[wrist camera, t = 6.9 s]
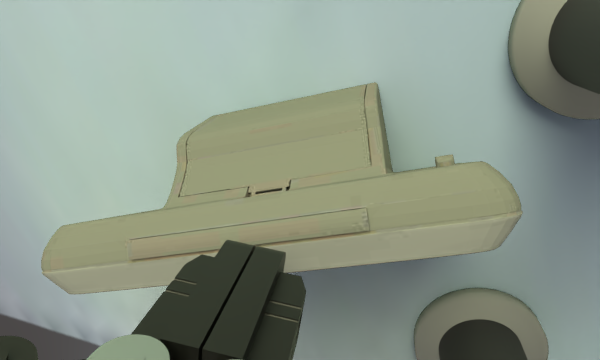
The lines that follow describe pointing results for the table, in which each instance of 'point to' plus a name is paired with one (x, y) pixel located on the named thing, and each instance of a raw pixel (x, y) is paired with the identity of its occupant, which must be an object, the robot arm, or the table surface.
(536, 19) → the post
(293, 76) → the table surface
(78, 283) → the digital clock
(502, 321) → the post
